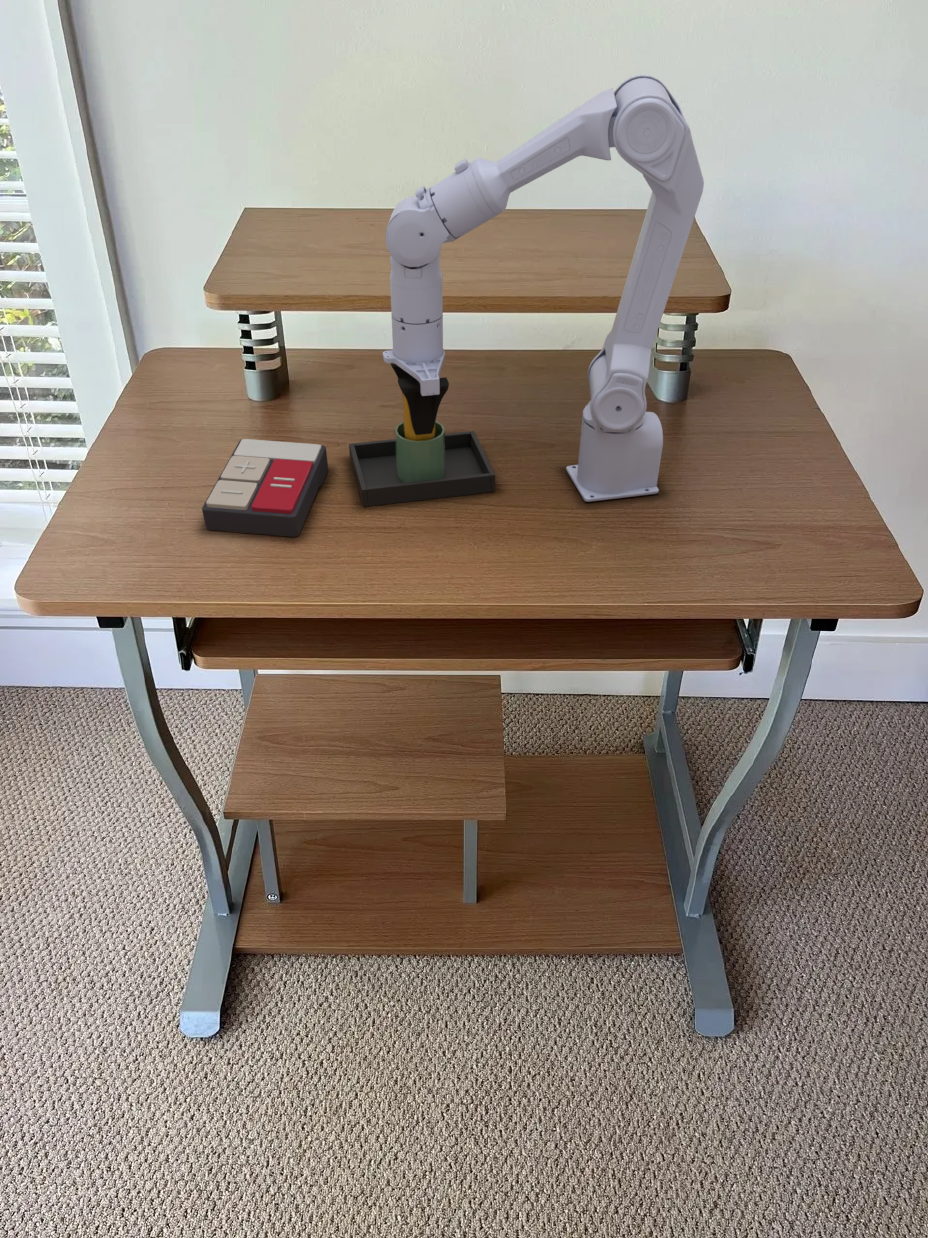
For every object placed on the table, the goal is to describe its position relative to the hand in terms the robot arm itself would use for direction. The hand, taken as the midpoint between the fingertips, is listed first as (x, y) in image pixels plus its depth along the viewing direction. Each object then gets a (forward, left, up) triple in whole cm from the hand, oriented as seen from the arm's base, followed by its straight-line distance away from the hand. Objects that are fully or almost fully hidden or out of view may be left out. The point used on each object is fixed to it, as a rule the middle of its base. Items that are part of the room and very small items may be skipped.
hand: (419, 424), depth 118 cm
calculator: (+19, +2, -7) cm, 20 cm away
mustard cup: (0, 0, -1) cm, 1 cm away
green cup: (0, 0, -7) cm, 7 cm away
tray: (0, 0, -7) cm, 7 cm away
